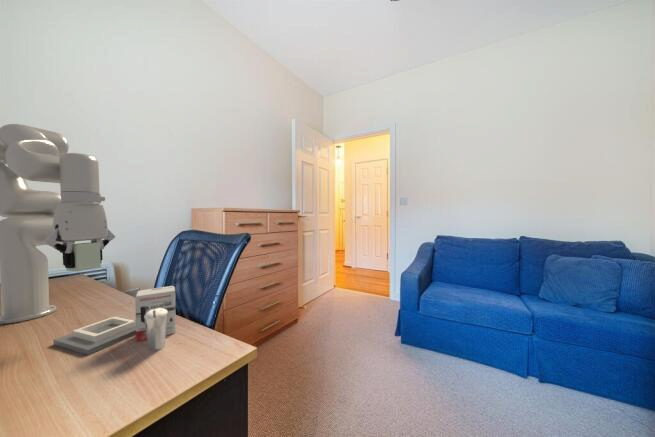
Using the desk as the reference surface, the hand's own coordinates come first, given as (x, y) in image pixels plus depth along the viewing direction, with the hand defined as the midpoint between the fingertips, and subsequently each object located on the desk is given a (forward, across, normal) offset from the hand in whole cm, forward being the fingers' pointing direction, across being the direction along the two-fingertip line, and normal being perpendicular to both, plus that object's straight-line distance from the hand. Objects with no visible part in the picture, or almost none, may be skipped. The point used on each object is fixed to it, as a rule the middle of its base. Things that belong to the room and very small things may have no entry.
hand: (83, 265), depth 66 cm
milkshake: (+19, 0, +27) cm, 33 cm away
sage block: (+1, 0, 0) cm, 1 cm away
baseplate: (+18, 0, +8) cm, 20 cm away
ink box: (+19, -5, +20) cm, 28 cm away
